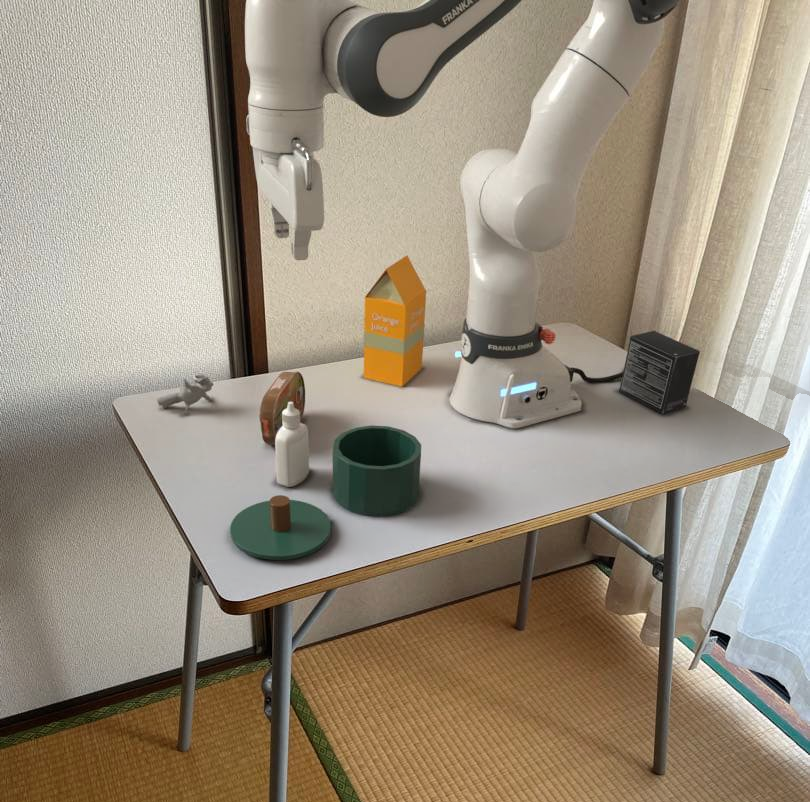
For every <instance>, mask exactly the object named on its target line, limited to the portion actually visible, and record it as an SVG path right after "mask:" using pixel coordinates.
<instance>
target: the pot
mask: <svg viewBox="0 0 810 802" xmlns="http://www.w3.org/2000/svg"><path fill="white" fill-rule="evenodd" d="M421 458H422V443H421V442H420V441H419V440H418V438H417V437H416V436H415V435H413V434H411V433H409V432H407V431H406V430H404V429H401V428H396V427H393V426H386V425H373V424H372V425H365V426H364V425H363V426H356V427H353V428H350V429H348V430H346V431H342V433H340V434H339V435H337V437H336V438H334V439H333V446H332V493H333V497H334V499H335V501H336V502H337V503H338V504H339V505H340V506H341V507H342V508H343V509H344V510H348V511H349V512H352V513H355V514H358V515H362V516H368V517H387V516H393V515H397V514H401V513H404V512H406V511H407V510H409V509H411V508H412V507H413V506H414V505H415V504H416V503H417V501H418V498H419V494H420V493H419V492H420V491H419V490H420V476H421V475H420V474H421V461H422V459H421Z"/></svg>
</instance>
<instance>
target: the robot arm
mask: <svg viewBox="0 0 810 802" xmlns="http://www.w3.org/2000/svg"><path fill="white" fill-rule="evenodd" d="M522 1H523V0H423V1H422V2H421V3H420V4H418V5H416V6H415V7H413V8H411V9H407V10H402V11H394V12H393V11H390V12H389V11H388V12H387V11H378V10H375V9H372V8H368V7H364V6H362V5H360V4H358V3H356V2H355V1H352V0H246V1H245V10H244V11H245V12H244V48H245V49H244V50H245V52H244V53H245V63H246V66H247V69H248V70H247V71H248V73H249V78H250V79H249V81H250V82H249V83H250V84H249V86H250V87H249V93H248V97H247V108H248V115H247V116H246V119H245V120H246V123H245V124H246V132H247V134H248V135H249V143H250V146H251V147H252V154H253V163H254V171H255V179H256V183H257V187H258V190H259V192H260V193H261V194H262V195H263V197H265V199H267V201H268V203H269V204H268V205H269V210H270V214H271V220H272V227H273V228H272V229H273V234H274V235H275V237H276V238H277V239H287V238H289V237H290V227H291V232H292V242H291V243H290V244H291V245H290V246H291V247H290V248H291V256H292V257H293V259H294V260H296V261H306V260H308V258H309V244H310V240H311V237H312V232H314V231H321V230H322V229H323V228H324V227H323V226H324V223H325V203H324V201H325V200H324V184H323V183H324V182H323V173H322V169H321V165H320V162H318V160H316V159H315V158H314V157H315V156H314V153H315V152H319V151H320V150H322V149H323V148H324V146H325V139H324V137H325V136H324V135H325V133H324V132H325V131H324V128H325V127H324V125H325V122H324V121H325V120H324V115H325V114H324V100H325V97H326V96H327V95H330V94H337V95H339V96H341V97H342V98H344V99H346V100H349V101H351V102H353V103H355V104H356V106H359V107H360V108H361V109H363V110H364V111H365V112H367V113H369V114H370V115H373V116H376V117H379V118H381V117H382V118H393V117H397V116H400V115H403V114H405V113H407V112H408V111H410V110H411V109H412V108H413V107H415V106H416V105H417V104H418V103H419V102H420V101H421V100H422V99H423V97H424V95H425V94H426V93H427V91H428V90H429V88H430V87H431V85H432V84H433V82H434V80H435V79H436V78H437V76H438V75H439V74H440V72H441V71H442V69H444V67H446V65H447V64H448V63H449V62H451V60H453V59H454V58H455V57H456V56H458V54H460V53H461V52H463V51H464V50H465V49H466V48H467V47H469V46H470V45H471V44H472V43H474V42H475V41H476V40H477V39H478V38H480V37H481V36H483V34H485V33H486V32H487V31H489V30H490V29H491V28H492V27H493V26H494V25H496V24H497V23H498V22H499V21H501V20H503V18H504V17H505V16H506V15H508V14H509V13H510V12H511V11H512V10H514V9H515V8H516V7H517V6H518V5H519V4H520V3H521V2H522ZM680 2H681V0H593V2H592V6H591V9H590V12H589V15H588V17H587V19H586V20H585V22H584V23H583V24H582V25H581V26H580V28H579V29H578V31H577V32H576V33H575V35H574V36H573V38H572V39H571V41H570V42H569V43H568V45H567V47H566V48H565V49H564V51H563V52H562V54H561V56H560V57H559V58H558V60H557V62H556V63H555V65H554V66H553V68H552V69H551V71H550V73H549V74H548V75H547V78H546V79H545V80H544V81H543V83H542V85H541V87H540V88H539V90H538V91H537V93H536V95H535V96H534V97H533V100H532V103H531V105H530V120H529V123H528V127H527V129H526V131H525V132H526V133H525V135H524V138H523V140H522V143H521V145H520V148H519V150H518V152H517V151H515V150H512V149H510V148H509V149H508V148H486V149H483V150H480V151H478V152H476V153H475V154H473V156H471V157H470V158H469V159H468V160H467V162H466V163H465V165H464V167H463V169H462V171H461V175H460V181H459V184H460V185H459V188H460V191H461V192H460V193H461V196H462V200H463V204H464V211H465V223H466V239H467V249H468V261H469V280H468V281H469V283H468V294H467V295H468V296H467V306H466V309H467V310H466V317H465V319H464V320H463V324H462V333H461V339H460V351H455V353H454V356H455V358H460V364H459V368H458V372H457V376H456V380H455V383H454V386H453V387H452V388H453V389H452V391H451V393H450V396H449V400H448V401H449V404H450V406H451V407H452V408H453V409H454V410H455V411H457V413H459V414H461V415H463V416H465V417H468V418H471V419H474V420H477V421H482V422H487V423H492V424H493V423H494V424H498V425H499V426H503V427H506V428H510V429H519V428H523V427H527V426H530V425H534V424H538V423H541V422H545V421H550V420H552V419H557V418H560V417H563V416H567V415H570V414H575V413H578V412H581V411H582V408H583V407H582V406H583V405H582V404H583V403H582V398H581V397H580V395H579V394H578V393H577V391H576V390H575V389H573V388H572V387H571V383H572V382H573V379H574V374H576V375H579V376H580V378H581V379H582V381H584V382H587V383H591V384H595V383H607V382H612V381H615V380H618V379H622V376H623V371H624V369H623V370H622V371H621V372H619V373H616V374H612V375H609V376H603V377H589V376H587V375H586V373H585V372H584V370H582V369H580V368H577V367H570V366H568V365H566V364H564V363H563V362H562V361H561V359H560V358H558V357H557V356H556V355H554V353H552V352H551V351H550V350H549V349H548V348H547V347H545V346H544V345H543V343H542V341H543V342H544V343H545V344H546V345H552V344H554V342H555V341H556V338H557V336H556V333H555V332H554V331H551V330H550V329H549V328H544V327H543V325H541V324H539V323H538V322H536V321H537V314H538V306H539V299H540V294H541V293H540V291H541V285H542V284H541V283H542V278H541V271H540V268H539V265H538V259H537V254H536V253H542V252H548V251H551V250H553V249H555V248H557V247H558V246H559V245H560V244H562V243H563V242H564V241H565V240H566V239H567V237H568V236H569V235H570V233H571V232H572V229H573V227H574V225H575V221H576V216H577V196H578V192H579V188H580V186H581V182H582V181H583V178H584V175H585V172H586V170H587V167H588V166H589V163H590V161H591V158H592V156H593V154H594V152H595V150H596V148H597V147H598V145H599V143H600V141H601V140H602V139H603V137H604V135H605V134H606V132H607V131H608V129H609V128H610V126H611V125H612V123H613V122H614V120H615V119H616V118H617V116H618V114H619V113H620V111H621V110H622V108H623V107H624V106H625V104H626V102H627V101H628V100H629V98H630V97H631V95H632V94H633V92H634V91H635V89H636V88H637V86H638V84H639V83H640V81H641V79H642V77H643V76H644V74H645V72H646V71H647V69H648V67H649V65H650V63H651V62H652V59H653V57H654V55H655V54H656V51H657V49H658V47H659V45H660V44H661V43H660V42H661V40H662V38H663V36H664V32H665V28H666V27H665V26H666V22H665V17H668V15H669V14H670V13H671V12H672V11H673V10H675V8H676V7H677V6H678V4H679V3H680Z"/></svg>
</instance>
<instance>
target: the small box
mask: <svg viewBox="0 0 810 802" xmlns="http://www.w3.org/2000/svg"><path fill="white" fill-rule="evenodd" d="M627 348H628V349H627V353H626V358H625V363H624V367H623V370H624V371H623V370H622V371H623V376H622V377H621V381H620V384H619V390H618V392H619V393H621V394H623V395H624V396H626V397H628V398H630V399H632V400H634V401H636V402H638V403H639V404H641V405H643V406H645V407H646V408H649V409H651V410H653V411H654V412H657V413H659V414H660V415H664V414H668V413H671V412H674V411H677V410H681V409H684V408H686V407H687V402H688V399H689V396H690V395H689V394H690V391H691V389H692V388H691V387H692V385H693V384H692V383H693V380H694V376H695V372H696V368H697V364H698V361H699V356H700V353H701V350H699V349H697V348H694V347H692V346H690V345H688V344H686V343H683V342H680V341H679V340H677V339H674V338H671V337H670V336H667V335H665V334H663V333H661V332H658V331H656V330H651V331H647V332H643V333H638V334H634V335H630V336H629V342H628V347H627Z"/></svg>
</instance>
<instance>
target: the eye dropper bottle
mask: <svg viewBox="0 0 810 802" xmlns="http://www.w3.org/2000/svg"><path fill="white" fill-rule="evenodd" d="M282 424H283V426H282V427H281V428H280V429H279V431H278V433H277V435H276V438H275V445H274V447H275V448H274V449H275V470H276V471H275V473H276V483H277V484H278V485H279V486H283V487H287V488H291V487H295V486H297V485H299V484H301V483H302V482H304V481H305V480H306V478H307V477H308V475H309V473H310V448H309V447H310V446H309V445H310V444H309V428H308V426H307V425H306V424H305V423H302V422H301V421H300V411H299V410H297V409H295V408H294V404H293V402H288V406H287V409H285V410H283V411H282Z"/></svg>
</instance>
